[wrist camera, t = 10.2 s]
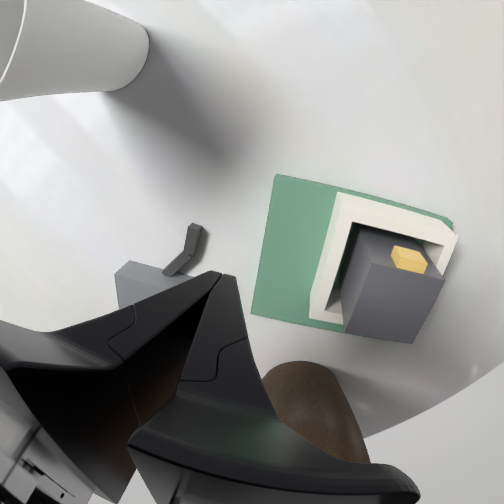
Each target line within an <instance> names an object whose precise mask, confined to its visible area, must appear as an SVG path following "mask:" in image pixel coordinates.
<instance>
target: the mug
mask: <svg viewBox="0 0 504 504" xmlns="http://www.w3.org/2000/svg"><path fill="white" fill-rule="evenodd" d="M148 51H149V39H148V35H147V32H146V31H145V29H144V28H143V27H142V26H141V25H140V24H139V23H137V22H135V21H133V20H131V19H129V18H127V17H125V16H123V15H121V14H118V13H116V12H113V11H111V10H108V9H106V8H103V7H101V6H98V5H95V4H93V3H90V2H87V1H84V0H0V101H6V100H13V99H19V98H26V97H33V96H42V95H51V94H63V93H80V92H99V91H115V90H118V89H120V88H123V87H124V86H126V85H128V84H129V83H130V82H131V81H132V80H133V79H134V78H135V77H136V76H137V75H138V74H139V72H140V71H141V69H142V68H143V66H144V64H145V61H146V59H147V56H148Z"/></svg>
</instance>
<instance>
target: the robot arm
mask: <svg viewBox="0 0 504 504" xmlns="http://www.w3.org/2000/svg"><path fill="white" fill-rule="evenodd" d="M136 468H137V469H138V471H139V473H140V475H141V476H142V479H143V480H144V482H145V484H146V486H147V488H148V489H149V491H150V493H151V494H152V496H153V498H154V499H155V501H156V503H157V504H415V503H416V502H417V501H418V500H419V499H420V497H421V495H420V492H419V490H418V487H417V486H416V485H415V483H414V482H413V481H412V479H410V477H408V476H407V475H406V474H405V473H403V472H402V471H401V470H399V469H398V468H396V467H394V466H391V465H387V464H377V463H375V464H374V463H373V464H372V463H355V462H349V461H345V460H341V459H339V458H336V457H333V456H332V455H330V454H328V453H326V452H325V451H323V450H322V449H320V448H318V447H317V446H315V445H314V444H312V443H311V442H309V441H308V440H307V439H305V438H304V437H302V436H301V435H299V434H298V433H296V432H295V431H294V430H292V429H291V428H289V427H288V426H287V425H285V424H284V422H283V421H282V420H281V419H280V418H279V416H278V414H277V413H276V411H275V409H274V406H273V404H272V402H271V400H270V397H269V395H268V393H267V391H266V388H265V386H264V384H263V381H262V379H261V377H260V374H259V372H258V369H257V367H256V364H255V361H254V358H253V354H252V351H251V347H250V342H249V339H248V333H247V329H246V324H245V319H244V315H243V310H242V305H241V300H240V295H239V290H238V286H237V281H236V277H235V276H232V275H227V274H223V275H222V273H219V272H215V271H208V272H205V273H203V274H201V275H198V276H196V277H194V278H191V279H189V280H187V281H185V282H182V283H180V284H178V285H175V286H173V287H171V288H168V289H166V290H164V291H161V292H159V293H157V294H154V295H152V296H150V297H148V298H145V299H143V300H141V301H138V302H136V303H134V304H133V305H132V304H131V305H129V306H127V307H124V308H122V309H119V310H117V311H114V312H112V313H109V314H107V315H104V316H101V317H98V318H95V319H92V320H89V321H86V322H83V323H80V324H77V325H73V326H70V327H67V328H64V329H61V330H57V331H53V332H37V331H33V330H29V329H26V328H23V327H19V326H16V325H13V324H10V323H7V322H4V321H1V320H0V504H87V503H88V501H89V500H90V498H91V495H92V494H93V493H95V494H96V495H98V496H100V497H102V498H104V499H106V500H108V501H110V502H112V503H114V504H118V502H119V500H120V499H121V497H122V495H123V493H124V491H125V489H126V487H127V485H128V483H129V482H130V479H131V478H132V476H133V474H134V472H135V470H136Z"/></svg>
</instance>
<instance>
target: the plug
mask: <svg viewBox="0 0 504 504" xmlns="http://www.w3.org/2000/svg"><path fill="white" fill-rule="evenodd" d="M338 281H339V289H340V297H341V306H342V316H343V326H344V333H349V334H355V335H361V336H367V337H373V338H379V339H385V340H391V341H398V342H405V343H411V344H412V342H413V341H414V339H415V337H416V335H417V334H418V332H419V330H420V328H421V327H422V325H423V323H424V321H425V319H426V317H427V316H428V314H429V312H430V310H431V308H432V306H433V304H434V302H435V300H436V298H437V296H438V294H439V292H440V290H441V288H442V286H443V284H444V281H445V279H444V278H443V276H442V275H441V274H440V272H439V271H438V269H437V268H436V266H435V265H434V263H433V262H432V261H431V259H430V258H429V256H428V255H427V254H426V252H425V251H424V250H423V248H422V247H421V246H420V244H419V243H418V242H417V240H416V239H415V238H414V237H411V236H408V235H404V234H400V233H396V232H392V231H389V230H385V229H381V228H377V227H373V226H369V225H365V224H361V223H357V222H355V225H354V228H353V232H352V235H351V238H350V242H349V245H348V248H347V252H346V255H345V258H344V261H343V264H342V267H341V270H340V274H339V277H338Z"/></svg>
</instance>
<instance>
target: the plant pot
mask: <svg viewBox="0 0 504 504" xmlns="http://www.w3.org/2000/svg"><path fill="white" fill-rule="evenodd" d="M262 381H263V384H264V386H265V388H266V391H267V393H268V395H269V397H270V400H271V402H272V404H273V406H274V409H275V411H276V413H277V414H278V416H279V418H280V419H281V420H282V421H283V422H284V424H285V425H287V426H288V427H289V428H291V429H292V430H294V431H295V432H296V433H298V434H299V435H301V436H302V437H304V438H305V439H307V440H308V441H309V442H311V443H312V444H314V445H315V446H317V447H318V448H320V449H322V450H323V451H325V452H326V453H328V454H330V455H332V456H333V457H336V458H339V459H341V460H345V461H349V462H355V463H371V462H370V459H369V455H368V452H367V449H366V446H365V443H364V440H363V437H362V434H361V431H360V429H359V426H358V424H357V421H356V419H355V416H354V414H353V412H352V410H351V407H350V405H349V403H348V401H347V399H346V397H345V395H344V393H343V391H342V389H341V388H340V386H339V384H338V382H337V380H336V379H335V377H334V375H333V374H332V373H331V372H330V371H329V370H328V369H326V368H324V367H323V366H320V365H318V364H315V363H311V362H304V361H293V362H287V363H283V364H280V365H278V366H276V367H274V368H273V369H271V370H270V371H269V372H268V373H267V374H266V375H265V376H264V377H263V379H262Z"/></svg>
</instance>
